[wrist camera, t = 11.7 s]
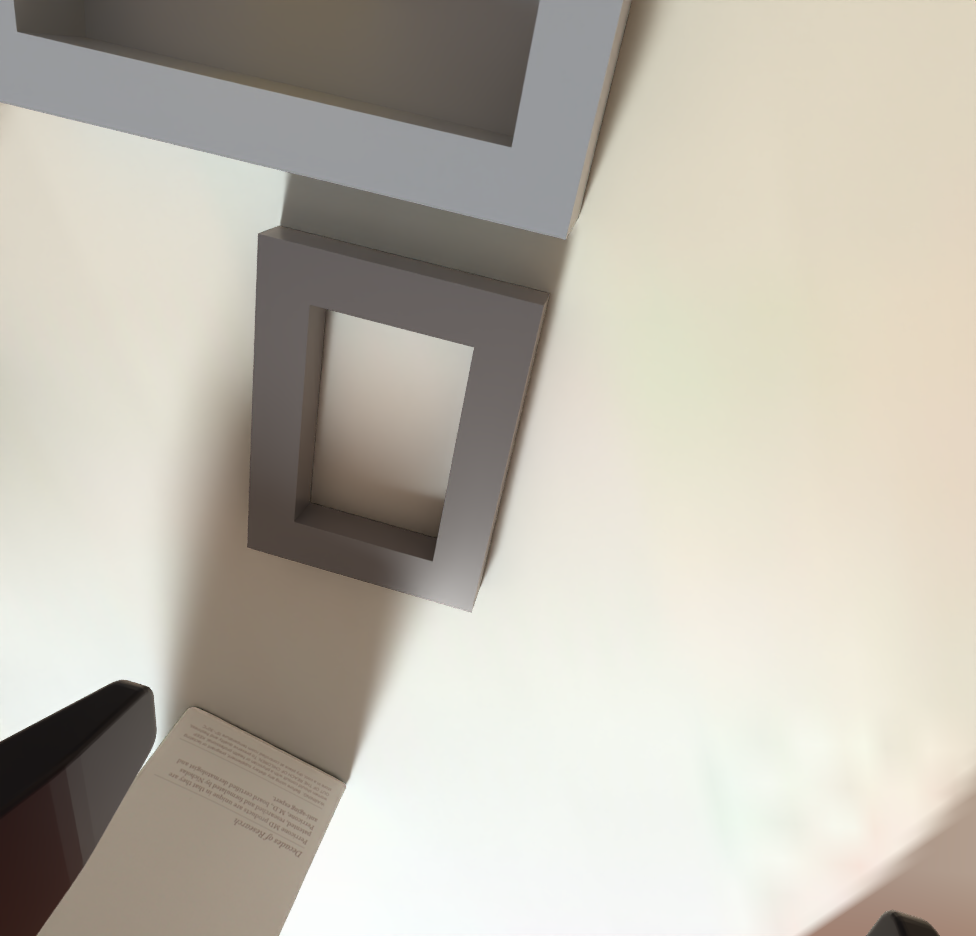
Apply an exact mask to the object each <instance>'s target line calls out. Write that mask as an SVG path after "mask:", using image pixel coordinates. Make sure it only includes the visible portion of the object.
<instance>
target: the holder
mask: <svg viewBox="0 0 976 936" xmlns="http://www.w3.org/2000/svg"><path fill="white" fill-rule="evenodd" d="M549 296H550V293H546V292H542V291H538V290H534V289H530V288H526V287H522V286H518V285H514V284H510V283H506V282H502V281H498V280H494V279H490V278H486V277H482V276H478V275H474V274H470V273H466V272H462V271H458V270H454V269H450V268H446V267H442V266H438V265H434V264H430V263H426V262H422V261H418V260H414V259H410V258H406V257H402V256H398V255H394V254H390V253H386V252H382V251H379V250H375V249H371V248H367V247H363V246H359V245H355V244H351V243H347V242H343V241H339V240H335V239H331V238H327V237H323V236H319V235H315V234H311V233H307V232H303V231H299V230H295V229H291V228H287V227H283V226H277V227H274V228H272V229H269V230H267V231H264V232H261V233H259V234H258V253H257V282H256V311H255V340H254V369H253V398H252V428H251V457H250V486H249V515H248V544H247V547H248V548H251V549H255V550H258V551H261V552H265V553H268V554H272V555H275V556H279V557H282V558H286V559H289V560H292V561H296V562H299V563H303V564H306V565H310V566H313V567H317V568H320V569H323V570H327V571H330V572H334V573H337V574H341V575H344V576H348V577H351V578H354V579H358V580H361V581H365V582H368V583H372V584H375V585H379V586H382V587H385V588H389V589H392V590H396V591H399V592H403V593H406V594H410V595H413V596H416V597H420V598H423V599H427V600H430V601H434V602H437V603H441V604H444V605H447V606H451V607H454V608H458V609H461V610H465V611H468V612H472V609H473V606H474V604H475V601H476V598H477V595H478V592H479V589H480V585H481V581H482V577H483V572H484V568H485V564H486V560H487V556H488V551H489V547H490V543H491V539H492V535H493V530H494V526H495V522H496V518H497V514H498V510H499V505H500V501H501V497H502V493H503V489H504V484H505V480H506V476H507V472H508V468H509V463H510V459H511V455H512V451H513V447H514V443H515V438H516V434H517V430H518V426H519V422H520V417H521V413H522V409H523V405H524V401H525V396H526V392H527V388H528V384H529V380H530V376H531V371H532V367H533V363H534V359H535V355H536V350H537V346H538V342H539V338H540V334H541V329H542V325H543V321H544V317H545V313H546V309H547V304H548V300H549ZM326 309H328V310H332V311H336V312H340V313H344V314H347V315H351V316H355V317H359V318H363V319H367V320H371V321H374V322H378V323H382V324H386V325H390V326H394V327H398V328H401V329H405V330H409V331H413V332H417V333H421V334H425V335H429V336H432V337H436V338H440V339H444V340H448V341H452V342H456V343H459V344H463V345H467V346H471V347H474V351H473V357H472V362H471V367H470V372H469V377H468V382H467V388H466V393H465V398H464V403H463V408H462V413H461V419H460V424H459V429H458V434H457V439H456V444H455V450H454V455H453V460H452V465H451V470H450V476H449V481H448V486H447V491H446V496H445V501H444V507H443V512H442V517H441V522H440V527H439V532H438V538H433V537H430V536H426V535H423V534H419V533H416V532H412V531H408V530H405V529H401V528H398V527H394V526H391V525H387V524H384V523H380V522H377V521H373V520H370V519H366V518H362V517H359V516H355V515H352V514H348V513H345V512H341V511H338V510H334V509H331V508H327V507H324V506H320V505H317V504H313V503H310V496H311V484H312V472H313V460H314V448H315V436H316V424H317V413H318V401H319V389H320V377H321V365H322V353H323V341H324V329H325V317H326Z"/></svg>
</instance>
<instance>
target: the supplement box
mask: <svg viewBox="0 0 976 936" xmlns="http://www.w3.org/2000/svg"><path fill="white" fill-rule="evenodd" d="M345 789H346V785H345V784H344V783H343V782H342V781H340V780H338V779H336V778H334V777H333V776H331V775H329V774H327V773H325V772H323V771H321V770H319V769H317V768H315V767H313V766H312V765H310V764H308V763H306V762H304V761H302V760H300V759H298V758H296V757H294V756H292V755H290V754H288V753H287V752H285V751H283V750H280V749H278V748H276V747H274V746H273V745H271V744H269V743H267V742H265V741H263V740H261V739H259V738H257V737H255V736H253V735H251V734H249V733H247V732H245V731H243V730H241V729H239V728H237V727H235V726H233V725H231V724H229V723H227V722H225V721H223V720H222V719H220V718H218V717H216V716H214V715H212V714H210V713H208V712H205V711H203V710H201V709H199V708H196V707H190V708H188V709H187V710H186V711H185V712H184V714H183V715H182V716H181V717H180V719H179V720H178V721H177V723H176V724H175V725H174V727H173V728H172V729H171V731H170V732H169V733H168V735H167V736H166V737H165V739H164V740H163V741H162V743H161V744H160V745H159V747H158V748H157V749H156V751H155V752H154V753H153V755H152V756H151V757H150V758H149V760H148V761H147V762H146V764H145V765H144V766H143V768H142V769H141V770H140V772H139V773H138V775H137V776H136V778H135V779H134V781H133V783H132V785H131V786H130V788H129V790H128V792H127V793H126V795H125V797H124V799H123V801H122V802H121V804H120V806H119V808H118V809H117V811H116V813H115V815H114V816H113V818H112V820H111V822H110V823H109V825H108V827H107V829H106V830H105V832H104V834H103V836H102V838H101V839H100V841H99V843H98V845H97V846H96V848H95V850H94V851H93V853H92V855H91V856H90V858H89V860H88V861H87V863H86V865H85V866H84V868H83V870H82V871H81V873H80V874H79V875H78V877H77V878H76V880H75V881H74V883H73V884H72V886H71V887H70V889H69V890H68V892H67V893H66V895H65V896H64V897H63V899H62V900H61V902H60V903H59V905H58V906H57V907H56V909H55V910H54V912H53V913H52V915H51V916H50V917H49V919H48V920H47V922H46V923H45V925H44V926H43V927H42V929H41V930H40V932H39V933H38V935H37V936H279V934H280V932H281V930H282V928H283V925H284V923H285V921H286V919H287V917H288V914H289V912H290V910H291V908H292V906H293V903H294V901H295V899H296V897H297V894H298V892H299V890H300V887H301V885H302V883H303V881H304V878H305V876H306V874H307V872H308V869H309V867H310V865H311V863H312V861H313V858H314V856H315V854H316V852H317V850H318V847H319V845H320V843H321V841H322V839H323V837H324V834H325V832H326V830H327V828H328V825H329V823H330V821H331V819H332V817H333V814H334V812H335V810H336V808H337V805H338V803H339V801H340V799H341V797H342V795H343V793H344V791H345Z"/></svg>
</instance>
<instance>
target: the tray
mask: <svg viewBox="0 0 976 936" xmlns="http://www.w3.org/2000/svg"><path fill="white" fill-rule="evenodd" d="M631 2H632V0H0V102H2V103H6V104H10V105H14V106H18V107H22V108H26V109H30V110H35V111H39V112H43V113H47V114H51V115H55V116H59V117H63V118H67V119H72V120H76V121H80V122H84V123H88V124H92V125H96V126H100V127H104V128H109V129H113V130H117V131H121V132H125V133H129V134H133V135H137V136H141V137H146V138H150V139H154V140H158V141H162V142H166V143H170V144H174V145H178V146H183V147H187V148H191V149H195V150H199V151H203V152H207V153H211V154H215V155H220V156H224V157H228V158H232V159H236V160H240V161H244V162H248V163H252V164H256V165H261V166H265V167H269V168H273V169H277V170H281V171H285V172H289V173H293V174H298V175H302V176H306V177H310V178H314V179H318V180H322V181H326V182H330V183H335V184H339V185H343V186H347V187H351V188H355V189H359V190H363V191H367V192H372V193H376V194H380V195H384V196H388V197H392V198H396V199H400V200H404V201H409V202H413V203H417V204H421V205H425V206H429V207H433V208H437V209H441V210H446V211H450V212H454V213H458V214H462V215H466V216H470V217H474V218H478V219H483V220H487V221H491V222H495V223H499V224H503V225H507V226H511V227H515V228H520V229H524V230H528V231H532V232H536V233H540V234H544V235H548V236H552V237H557V238H561V239H565V240H566V238H567V237H568V235H569V233H570V231H571V230H572V228H573V226H574V224H575V223H576V221H577V219H578V218H579V214H580V210H581V206H582V202H583V198H584V194H585V190H586V186H587V182H588V177H589V173H590V169H591V165H592V161H593V157H594V153H595V149H596V145H597V141H598V137H599V133H600V129H601V125H602V120H603V116H604V112H605V108H606V104H607V100H608V96H609V92H610V88H611V84H612V80H613V76H614V72H615V68H616V64H617V59H618V55H619V51H620V47H621V43H622V39H623V35H624V31H625V27H626V23H627V19H628V15H629V11H630V7H631Z"/></svg>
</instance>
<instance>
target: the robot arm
mask: <svg viewBox="0 0 976 936" xmlns="http://www.w3.org/2000/svg"><path fill="white" fill-rule="evenodd" d="M156 732H157V728H156V717H155V705H154V695H153V692H152V690H151V689H150V688H149V687H147V686H144V685H141V684H138V683H134V682H131V681H128V680H118V681H115V682H112V683H110V684H108V685H107V686H105V687H103V688H101V689H99V690H97V691H95V692H93V693H91V694H90V695H88V696H86V697H84V698H82V699H80V700H78V701H76V702H74V703H73V704H71V705H69V706H67V707H65V708H63V709H61V710H59V711H57V712H55V713H54V714H52V715H50V716H48V717H46V718H44V719H42V720H40V721H38V722H37V723H35V724H33V725H31V726H29V727H27V728H25V729H23V730H21V731H20V732H18V733H16V734H14V735H12V736H10V737H8V738H6V739H4V740H3V741H1V742H0V936H37V935H38V933H39V932H40V930H41V929H42V927H43V926H44V925H45V923H46V922H47V920H48V919H49V917H50V916H51V915H52V913H53V912H54V910H55V909H56V907H57V906H58V905H59V903H60V902H61V900H62V899H63V897H64V896H65V895H66V893H67V892H68V890H69V889H70V887H71V886H72V884H73V883H74V881H75V880H76V878H77V877H78V875H79V874H80V873H81V871H82V870H83V868H84V866H85V865H86V863H87V861H88V860H89V858H90V856H91V855H92V853H93V851H94V850H95V848H96V846H97V845H98V843H99V841H100V839H101V838H102V836H103V834H104V832H105V830H106V829H107V827H108V825H109V823H110V822H111V820H112V818H113V816H114V815H115V813H116V811H117V809H118V808H119V806H120V804H121V802H122V801H123V799H124V797H125V795H126V793H127V792H128V790H129V788H130V786H131V785H132V783H133V781H134V779H135V778H136V776H137V774H138V772H139V771H140V769H141V767H142V765H143V764H144V762H145V760H146V758H147V756H148V755H149V753H150V751H151V749H152V747H153V744H154V742H155V738H156ZM866 936H940V935H939V934H938V932H937V931H936V930H935V929H934V928H933V927H932V926H931V925H930V924H929V923H928V922H927V921H925V920H923V919H921V918H918V917H915V916H912V915H908V914H905V913H902V912H899V911H895V910H890V911H887V912H885V913H884V914H883V915H882V916H881V917H880V918H879V920H878V921H877V922H876V924H875V925H874V926H873V927H872V929H871V930H870V932H869V933H868V934H867V935H866Z"/></svg>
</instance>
